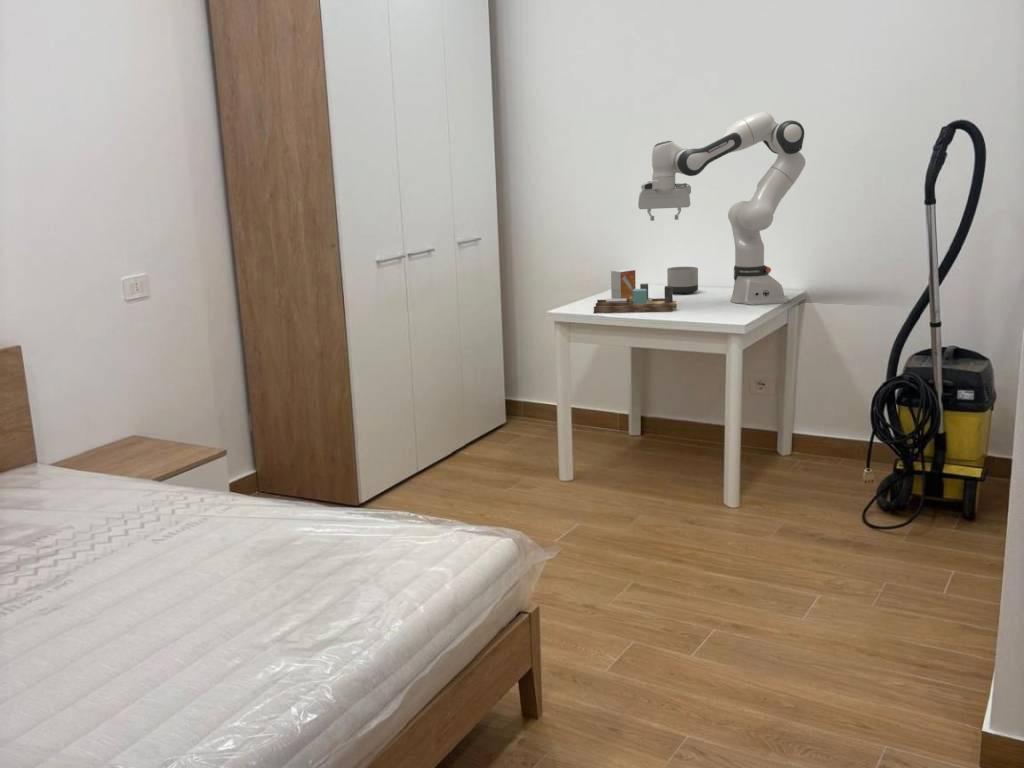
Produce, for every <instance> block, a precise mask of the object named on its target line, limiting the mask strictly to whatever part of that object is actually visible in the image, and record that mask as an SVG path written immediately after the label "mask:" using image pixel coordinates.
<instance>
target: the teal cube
mask: <svg viewBox="0 0 1024 768" xmlns="http://www.w3.org/2000/svg"><path fill="white" fill-rule="evenodd" d="M646 302H647V289H640V288H636V289H633V304H646Z"/></svg>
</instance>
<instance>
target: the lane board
mask: <svg viewBox="0 0 1024 768" xmlns="http://www.w3.org/2000/svg"><path fill="white" fill-rule="evenodd" d="M606 300H607V299H596V302H595V305H594V306H593V314H623V313H624V314H625V313H628V314H630V313H631V314H632V313H672V312H673V308H672V305H646V306H629V299H627V302H624V303H606ZM652 301H665V297H664V298H652Z"/></svg>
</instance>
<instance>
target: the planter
mask: <svg viewBox="0 0 1024 768" xmlns="http://www.w3.org/2000/svg"><path fill="white" fill-rule="evenodd" d="M666 270H667V273H666V275H667V283H666V284H667V285H666V286H673V295H691V294H694V293H695V292H697V291H698V290H699V267H697V266H696V267H695V266H675V267H674V266H673V267H668V268H667V269H666Z"/></svg>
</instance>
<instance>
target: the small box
mask: <svg viewBox="0 0 1024 768" xmlns="http://www.w3.org/2000/svg"><path fill="white" fill-rule="evenodd" d="M610 280H611V281H610V283H611V284H610V285H611V286H610V289H611V290H610V291H611V293H610V294H611V295H610V297H611V298H610V299H623V298H627V299H629V298H630V297H631V296H632V297H633V289H637V288H636V269H630V268H621V269H616V270H610Z"/></svg>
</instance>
